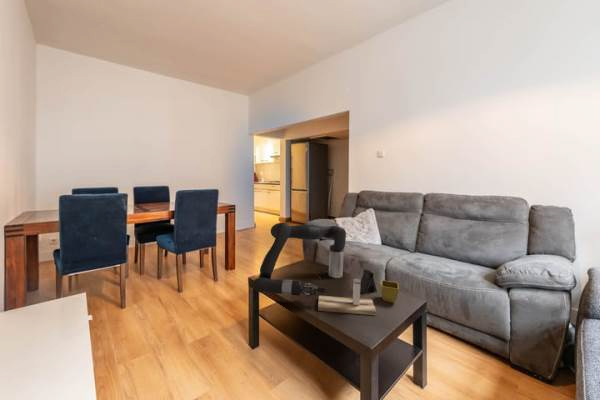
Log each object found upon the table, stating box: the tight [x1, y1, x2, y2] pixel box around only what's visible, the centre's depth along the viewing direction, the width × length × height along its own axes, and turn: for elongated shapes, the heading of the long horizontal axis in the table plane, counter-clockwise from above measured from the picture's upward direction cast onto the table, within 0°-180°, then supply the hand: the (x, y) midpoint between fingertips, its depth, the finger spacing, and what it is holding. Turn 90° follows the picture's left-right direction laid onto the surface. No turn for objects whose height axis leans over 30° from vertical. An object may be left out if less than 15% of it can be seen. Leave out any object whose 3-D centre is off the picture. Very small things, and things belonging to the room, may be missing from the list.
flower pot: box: [380, 280, 400, 304], centre depth 139 cm, size 9×9×9 cm
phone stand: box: [360, 268, 378, 295], centre depth 150 cm, size 9×6×12 cm, turn 108°
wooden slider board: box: [317, 295, 377, 316], centre depth 131 cm, size 12×28×2 cm, turn 84°
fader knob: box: [352, 278, 361, 305], centre depth 130 cm, size 4×3×12 cm
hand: (324, 289), depth 131 cm, fingers closed
